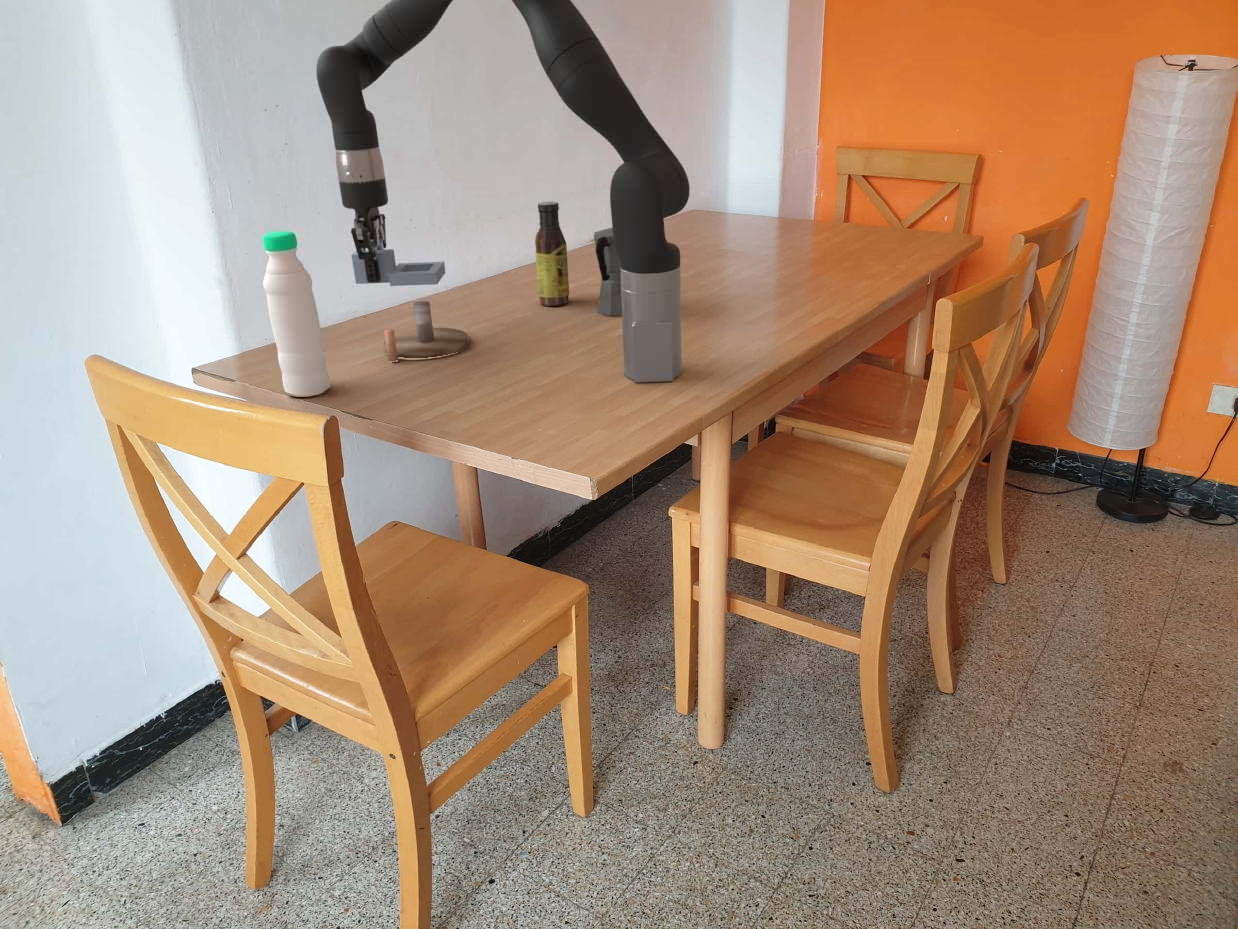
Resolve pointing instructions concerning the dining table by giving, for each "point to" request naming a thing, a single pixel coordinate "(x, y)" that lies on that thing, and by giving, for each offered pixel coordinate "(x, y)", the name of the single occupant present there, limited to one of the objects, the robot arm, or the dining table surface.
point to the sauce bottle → (551, 257)
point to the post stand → (428, 337)
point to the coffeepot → (608, 274)
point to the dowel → (391, 345)
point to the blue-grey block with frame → (399, 270)
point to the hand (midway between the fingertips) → (376, 278)
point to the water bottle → (294, 317)
